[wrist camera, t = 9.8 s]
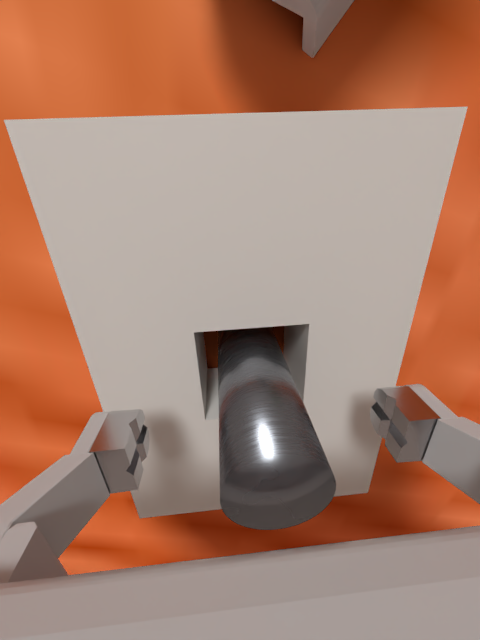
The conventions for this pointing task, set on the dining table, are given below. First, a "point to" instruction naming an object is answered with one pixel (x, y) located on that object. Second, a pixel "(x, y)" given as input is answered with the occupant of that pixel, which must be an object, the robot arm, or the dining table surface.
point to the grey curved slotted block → (317, 19)
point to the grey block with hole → (240, 264)
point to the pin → (266, 437)
